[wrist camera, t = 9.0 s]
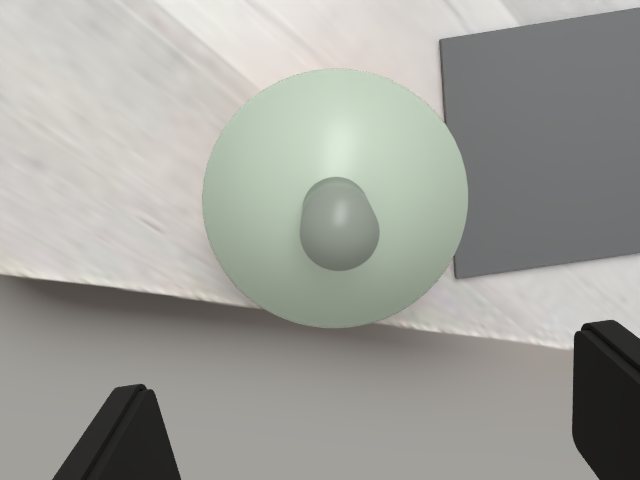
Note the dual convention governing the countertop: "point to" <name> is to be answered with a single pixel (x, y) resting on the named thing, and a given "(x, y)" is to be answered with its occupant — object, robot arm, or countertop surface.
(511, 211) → the mat
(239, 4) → the countertop surface
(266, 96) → the lid
